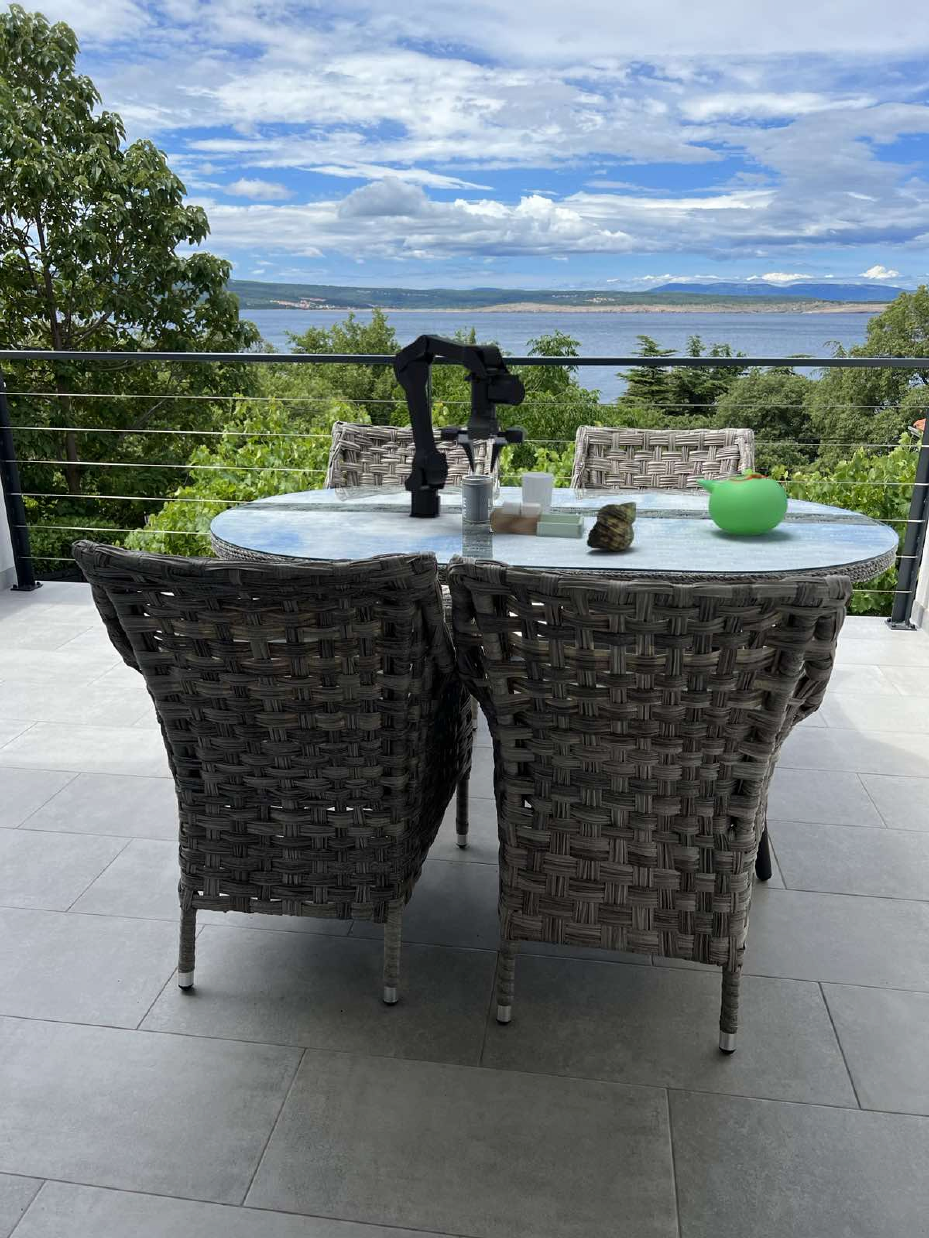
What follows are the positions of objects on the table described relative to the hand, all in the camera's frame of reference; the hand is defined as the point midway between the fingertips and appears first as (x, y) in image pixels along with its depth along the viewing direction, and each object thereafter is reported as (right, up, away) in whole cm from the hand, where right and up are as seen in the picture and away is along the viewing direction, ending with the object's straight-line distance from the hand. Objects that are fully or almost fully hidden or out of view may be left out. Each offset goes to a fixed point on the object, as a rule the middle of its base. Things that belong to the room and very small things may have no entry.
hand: (482, 472), depth 227 cm
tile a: (+7, -9, +2) cm, 11 cm away
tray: (+18, -13, +1) cm, 23 cm away
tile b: (+11, -9, +1) cm, 15 cm away
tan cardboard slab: (+8, -13, +3) cm, 15 cm away
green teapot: (+60, -14, +1) cm, 62 cm away
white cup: (+14, -8, +20) cm, 26 cm away
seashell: (+27, -19, -15) cm, 36 cm away
